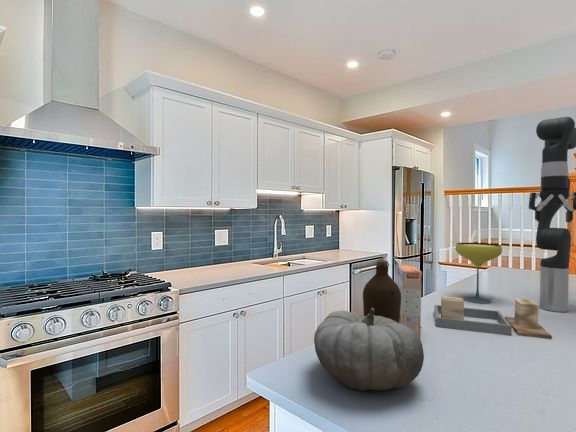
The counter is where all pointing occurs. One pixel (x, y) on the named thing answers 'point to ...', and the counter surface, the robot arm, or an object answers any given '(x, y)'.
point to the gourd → (368, 350)
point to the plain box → (452, 308)
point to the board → (528, 330)
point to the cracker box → (410, 296)
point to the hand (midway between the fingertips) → (553, 221)
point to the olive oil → (382, 294)
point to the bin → (474, 325)
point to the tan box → (526, 313)
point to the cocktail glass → (478, 260)
